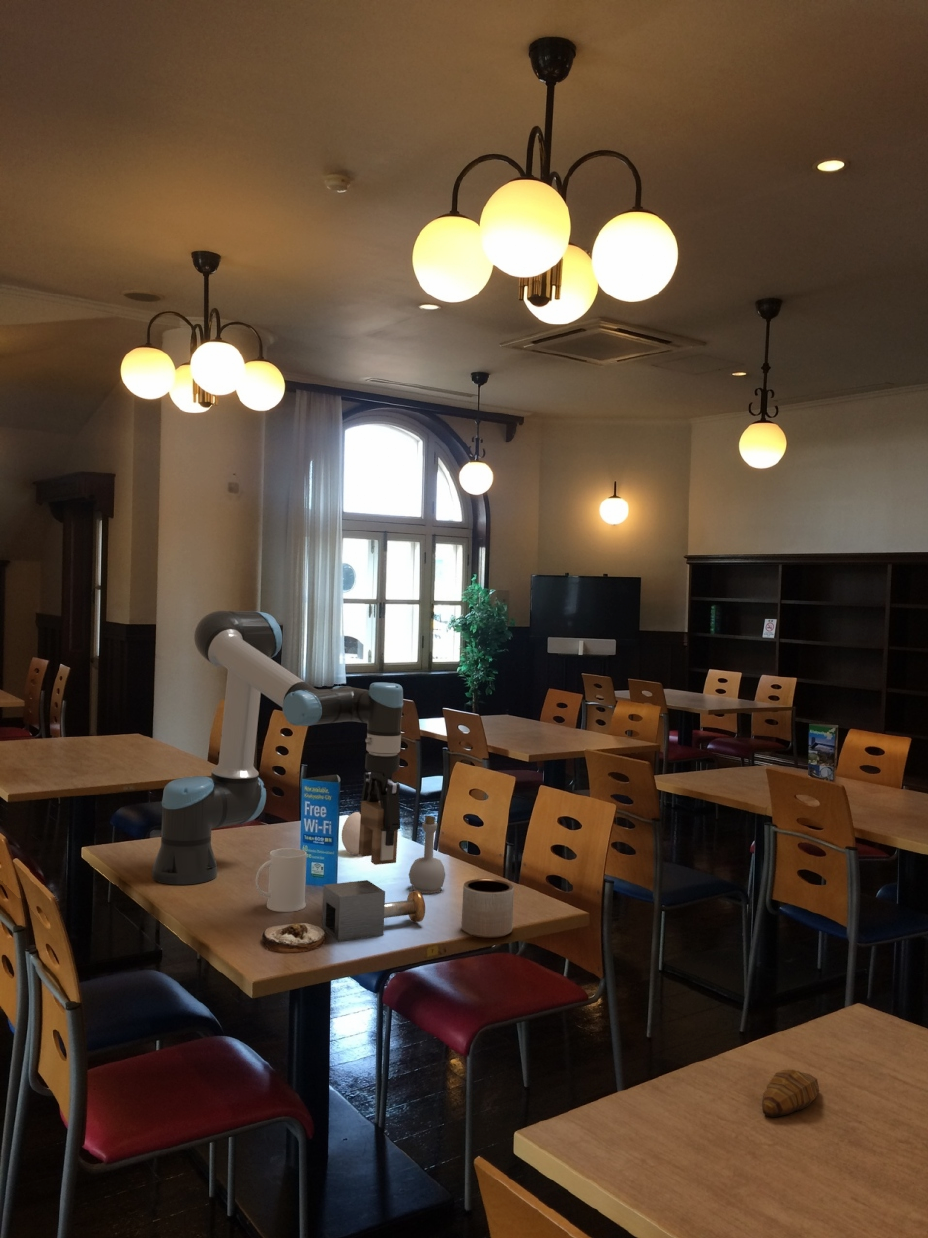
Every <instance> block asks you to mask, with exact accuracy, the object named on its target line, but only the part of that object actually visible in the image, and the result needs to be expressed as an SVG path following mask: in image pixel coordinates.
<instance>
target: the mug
mask: <svg viewBox="0 0 928 1238" xmlns="http://www.w3.org/2000/svg"><path fill="white" fill-rule="evenodd" d="M307 854H308V852H307V851H305V850H303V849H299V848H290V847H287V848H285V847H284V848H277V849H274V850H271V851H270V852H269V860H267V861H265V862H264V863H263V864H261V865H260V867H259V868H258V870H257V872H256V874H255V881H254V882H255V887H256V890H257V891H258V892H259V894H260V895H262V896H264V897H265V898H267V902H266V908H267V909H268V910H270V911H273V912H277V913H278V912H279V913H292V912H298V911H301V910H304V909H305V908H306V905H307V904H306V878H307V877H306V874H307ZM268 866H269V868H268V889H267V890H268V891H264V890H262V889H261V888H260V885H259V877H260V874H261V872H262V871H263V870H264V869H265V868H266V867H268Z"/></svg>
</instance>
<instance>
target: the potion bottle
mask: <svg viewBox="0 0 928 1238" xmlns="http://www.w3.org/2000/svg"><path fill="white" fill-rule="evenodd" d="M421 825H422V827H421V829H422V830H423V832H424V850H423V856H422V857H418V858H417V859H415V860H414V861H413V863H412V864H411V866H410V869H409V873H408V876H409V877H408V878H409V883H410V885H412V886H413V887H412V890H413V891H419V892H420V893H421V894H436V892H437V893H440V892H441V891H442V888H443V886H444V883H445V879H446V871H445V866H444V864H443V862H442V860H441V859H438V858H436V857H434V843H435V842H434V841H435V832H436V831H437V829H438V823H437V822H436V817H435V816H432V815H424V822H422V823H421ZM440 890H441V891H440ZM439 891H440V892H439Z"/></svg>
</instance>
